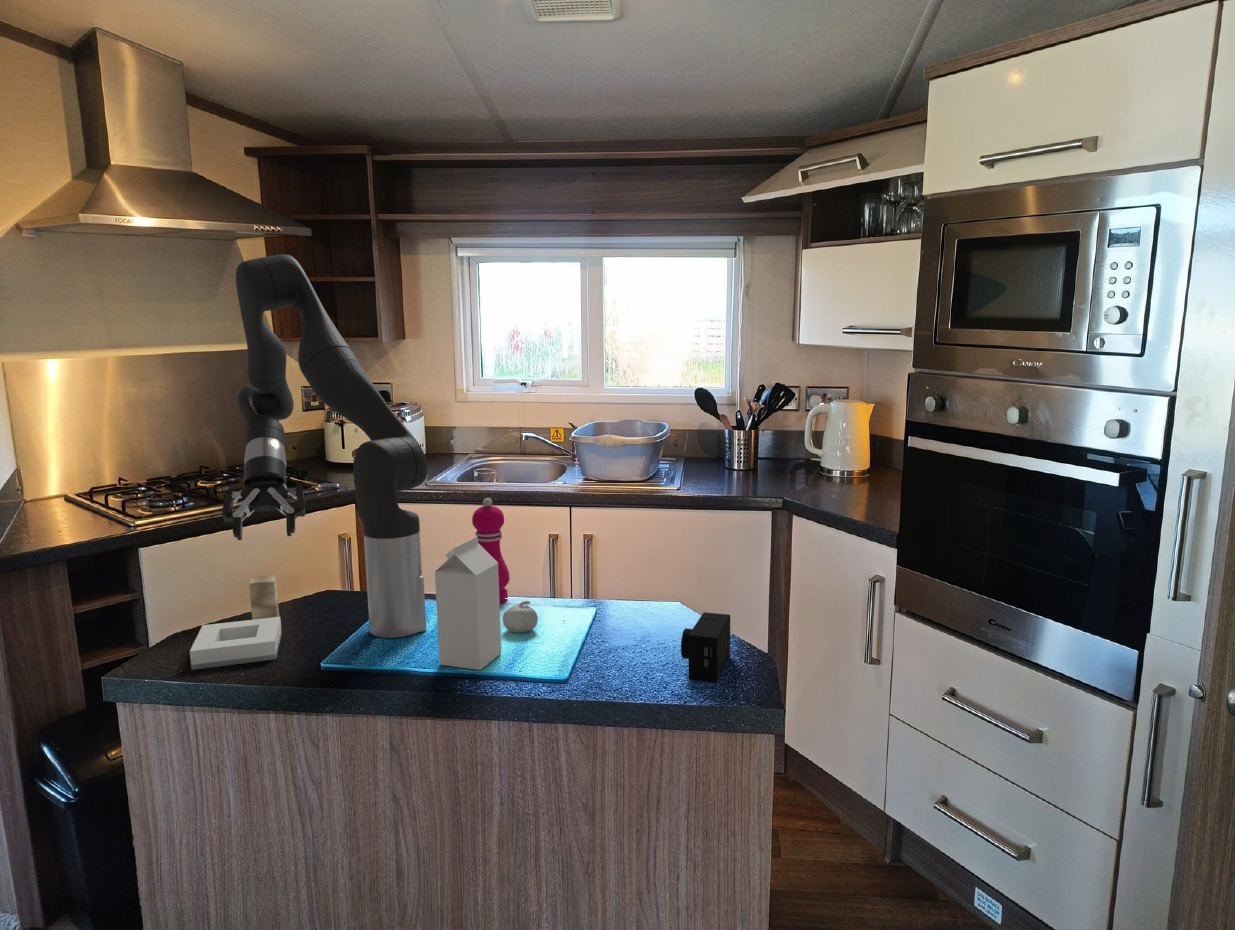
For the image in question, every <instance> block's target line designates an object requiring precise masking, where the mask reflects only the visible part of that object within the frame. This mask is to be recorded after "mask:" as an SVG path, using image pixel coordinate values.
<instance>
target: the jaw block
mask: <svg viewBox="0 0 1235 930" xmlns="http://www.w3.org/2000/svg"><path fill="white" fill-rule="evenodd" d="M248 585H249V587H248V588H249V595H250V596H249V597H250V609H251V610H250V611H251V618H252V619H251V620H255V619H264V618H273V617H280V609H279V598H278V587H277V586H278V584H277V575H276V574H275V575H274V574H272V575H263V576H253V577H251V578H250V580H249V584H248Z"/></svg>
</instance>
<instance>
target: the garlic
mask: <svg viewBox="0 0 1235 930" xmlns="http://www.w3.org/2000/svg"><path fill="white" fill-rule="evenodd" d="M530 604H531V601H530V600H523V601H521V602H520V603H519V604H514V605H512V606H511V607H508V609H507V610H505V611H504V612H503V615H502V623H503V626H504V628H505V629H507V630H508V631H509V632H511V633H516V634H517V633H519V634H520V633H521V634H522V633H523V634H524V633H528V632H531V631H533V629H535V628H536V627H537V626H538V620H539V619H538V613H537V612H536V610H535V609H534V608H533V607H531V606H530Z"/></svg>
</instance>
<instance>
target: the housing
mask: <svg viewBox="0 0 1235 930" xmlns="http://www.w3.org/2000/svg"><path fill="white" fill-rule="evenodd" d="M282 635H283V634H282V620H281V616H279V617H273V618H264V619H255V620H252V619H247V620H240V621H238V620H237V621H228V622H221V623H213V624H211V623H210V624H202V625H201V628H200V630H199V632H198V634H197V636H196V638H195V640H194V641H193V643H192V646H191V648H190V650H189V657H190V658H189V659H190V667H191V671H195V670H200V669H210V668H217V667H225V666H232V665H239V664H241V665H242V664H248V663H257V662H265V661H273V660H277V657H278V651H279V647H280V642H281V638H282Z"/></svg>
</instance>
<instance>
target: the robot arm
mask: <svg viewBox="0 0 1235 930" xmlns="http://www.w3.org/2000/svg"><path fill="white" fill-rule="evenodd" d="M235 286H236V287H235V288H236V294H237V298H238V304H239V310H240V315H241V316H240V317H241V320H242V326H243V330H244V334H245V340H246V348H247V349H246V350H247V378H248V382H249V384H248V385H245V386H244V387H242V388H241V390H240V391H239V393H238V395H237V406H238V409H239V412H240V414H241V417H242V420H243V422H244V426H245V429H246V430H245V431H246V437H245V438H246V440H245V441H246V443H245V445H246V446H245V452H244V453H245V454H244V458H243V459H244V463H243V464H244V465H243V469H244V470H243V488H242V489H241V491H233V490H232V488H227V489H225V490H224V496H223V505H222V510H221V514H222V517H223V520H224V522H225V523H232V534H233V537H234V539H235V538H236V539H237V541H242V540H243V522H244V521H245V520H246V518H249V517H250V516H251V515H252V514H253V513H254V512H256V513H261V512H274V511H275V510H278V511H279V512H280V514H282V515H284V516H285V517H286V519H285V520H286V522H285V523H286V535H287V537H292V534H295V533H296V520H297V518H299V517H300V518H301V517H302V518H303V517H305V516H306V514H307V513H306V505H305V495H304V488H303V485H302V484H297V485H295V487H290V488H288V487H287V457H286V450H285V428H284V425H283V424H282V422H280V421H284V420H286V419H288V418H289V417H290V416H291V415H292V413H293V411H294V409H295V408H294V405H295V404H294V399H293V395H292V392H291V389H290V387H289V385H288V382H287V351H286V349H285V345H284V344H283V342H282V341H281V339H280V338H279V337H278V336H277V335H276V334H275V333H274V331H272V330H271V329H270V328H269V327H268V326H267V323H266V322H265V321H264V313H265V312H269V311H274V310H278V309H283V308H288V307H292V308H295V310H296V311H297V313H298V314H299V317H300V320H301V334H300V340H299V345H298V356H297V357H298V358H297V361H298V367H299V370H300V372H301V374H302V375H303V376H304V378H305V380H306V382H307V383H308V385H309V386H310V388H311V389H312V391H313V392H314V394H315V395H316V397H317V398H318V399H319V400H320V401H321V402H323V404H325V405H326V406H327V407H328V408H330V409H331V410H332V411H334V412H335V413H337V414H339V415H340V416H342V417H343V418H345V419H347V420H348V421H350V422H351V423H352V424H353V425H355V426H356V427H358V428H359V429H360V430H361V431H362V432H363V433H365V435H366V436H367V437H368V438H369V440H367V441H365V442H363V443H362V444H360V445H359V446H358V447H357V448H356V450H355V453H354V457H353V462H352V463H353V465H352V468H353V469H352V472H353V482H354V488H355V489H354V490H355V496H356V497H355V499H356V505H357V506H356V507H357V512H358V517H359V520H360V522H361V524H362V529H363V540H364V542H363V543H364V556H365V557H364V559H365V575H366V592H367V604H368V605H367V607H368V609H367V610H368V623H369V625H368V626H369V632H370V634H371V635H372V636H375V637H378V638H385V639H394V638H405V637H409V636H412V635H415V634H418V633H419V632H420V633H421V632H427V618H426V616H427V615H426V600H425V599H426V597H425V595H426V594H425V583H424V582H425V581H424V575H423V567H422V566H423V565H422V548H421V547H422V546H421V543H422V542H421V531H420V530H421V529H420V527H421V525H420V524H421V523H420V517H419V515H418V514H417V513H415V512H414V511H410V510H406V509H402V508H400V506H399V503H398V496H397V493H399V492H402V491H407V490H412V489H414V488H417V487H419V486H421V485H422V484H423V483H424V482H425V480H426V479H427V476H428V467H429V466H428V461H427V458H426V454H425V452H424V449H423V448H422V447H421V445H420V443H419V441H418V440H417V439H416V438H415V436H414V435H413V434H412V433H411V432H410V430H409V429H408V428H407V427H406V425H404V423H403V422H402V421H401V420H400V418H399V417H398V416H397V414H395V412H394V411H393V410H392V409H391V407H390V406H389V405H388V403H387V402H386V401H385V399H384V397H383V396H382V394H381V393H380V392H379V389H377V387H376V386H375V384H374V383H373V382H372V381H371V379H370V377H369V376H368V374H367V372H366V371H365V369H364V368H363V366H362V364H361V362H360V361H359V359H358V358H357V357H356V355H355V354H354V352H353V350H352V349H351V348H350V346H349V344H348V343H347V342H346V341H345V339H344V338H343V337H342V336H343V335H341V333H340V332H339V330H338V329H337V328H336V325H335V324H334V323H333V321H332V319H331V318H330V316H329V314H328V312H327V311H326V310H325V308H324V306H323V304H322V302H321V300H320V298H319V296H318V295H317V294H318V293H316V290H315V289H314V287H313V285H312V283H311V281H310V279H309V278H308V276H307V274H306V272H305V270H304V269H303V268H302V266H301V264H300V262H298V260H297V259H295V257H293V256H292V255H291V254H283V253H282V254H275V255H268V256H263V257H258V258H253V259H249V260H245V261H241V262H240V263H239V264H238V266H237V268H236V270H235ZM289 496H291V497H292V499H294V500H296V504H297V506H296V507H293V506H291V504H289V503H288V501H287V498H288V497H289ZM239 499H241V500H242V501H241V503H240V504H239V506H238V508H237V509H236V510H235V511H234V512H233V507H234V505H235V504H236V503H237V502H238V500H239Z"/></svg>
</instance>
